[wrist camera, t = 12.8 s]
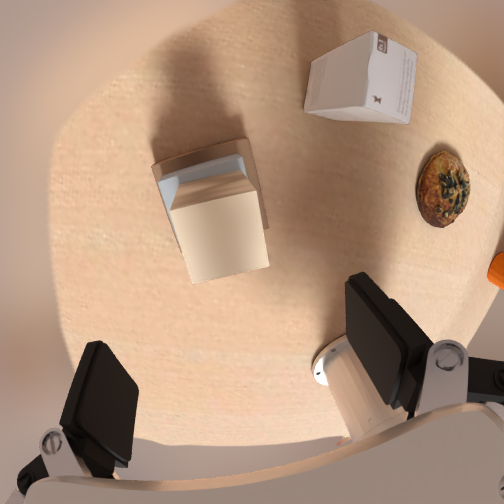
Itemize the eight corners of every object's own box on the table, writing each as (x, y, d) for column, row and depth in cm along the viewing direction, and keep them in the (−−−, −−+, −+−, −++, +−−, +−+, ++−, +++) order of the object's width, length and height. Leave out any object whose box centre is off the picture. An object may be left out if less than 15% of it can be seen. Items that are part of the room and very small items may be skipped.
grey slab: (237, 153, 24) (242, 157, 21) (254, 223, 27) (260, 235, 25) (162, 175, 24) (157, 182, 21) (185, 243, 27) (184, 257, 24)
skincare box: (338, 121, 26) (414, 130, 15) (299, 112, 25) (362, 110, 14) (346, 69, 23) (423, 54, 13) (308, 57, 23) (372, 28, 12)
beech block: (240, 169, 22) (256, 190, 16) (251, 226, 24) (269, 266, 18) (179, 184, 21) (169, 210, 15) (194, 239, 24) (192, 284, 17)
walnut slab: (243, 136, 26) (248, 138, 23) (262, 217, 30) (268, 227, 28) (156, 161, 26) (150, 166, 23) (182, 240, 30) (181, 253, 27)
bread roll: (413, 233, 34) (437, 244, 29) (406, 153, 30) (432, 155, 26) (459, 217, 35) (481, 224, 30) (454, 147, 31) (478, 149, 27)
